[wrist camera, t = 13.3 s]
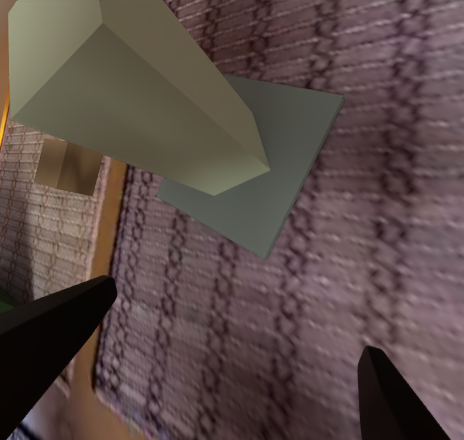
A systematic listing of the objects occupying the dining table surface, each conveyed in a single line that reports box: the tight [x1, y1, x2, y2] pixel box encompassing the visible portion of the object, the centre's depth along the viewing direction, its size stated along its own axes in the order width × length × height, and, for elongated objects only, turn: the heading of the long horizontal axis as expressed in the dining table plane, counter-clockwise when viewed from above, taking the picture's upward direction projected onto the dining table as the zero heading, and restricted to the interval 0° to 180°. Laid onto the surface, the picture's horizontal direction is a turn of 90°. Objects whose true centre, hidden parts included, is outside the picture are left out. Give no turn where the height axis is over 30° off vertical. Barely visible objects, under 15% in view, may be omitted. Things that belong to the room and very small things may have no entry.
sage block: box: [8, 0, 270, 196], centre depth 14 cm, size 5×5×13 cm
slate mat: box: [156, 74, 344, 259], centre depth 20 cm, size 12×12×1 cm
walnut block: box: [34, 139, 103, 196], centre depth 28 cm, size 5×5×4 cm
